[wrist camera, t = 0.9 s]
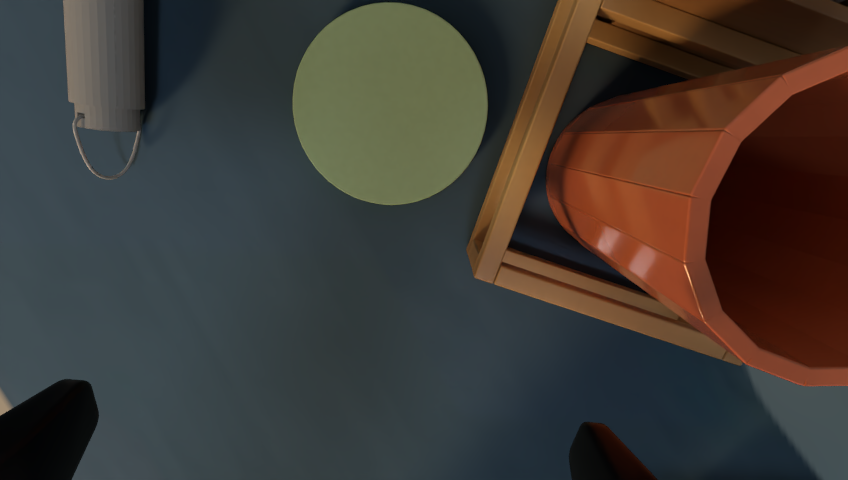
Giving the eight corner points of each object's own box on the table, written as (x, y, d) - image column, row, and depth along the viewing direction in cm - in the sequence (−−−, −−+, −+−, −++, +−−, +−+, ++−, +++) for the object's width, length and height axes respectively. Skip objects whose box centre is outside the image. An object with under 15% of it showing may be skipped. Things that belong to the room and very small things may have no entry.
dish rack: (682, 323, 23) (922, 501, 12) (465, 250, 23) (498, 364, 11) (831, 13, 20) (1338, -143, 9) (586, -79, 20) (793, -369, 8)
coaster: (486, 201, 22) (487, 203, 22) (303, 205, 22) (299, 206, 22) (487, 2, 20) (488, -2, 20) (288, 8, 21) (284, 4, 20)
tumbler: (693, 249, 22) (1003, 385, 10) (543, 252, 23) (672, 388, 10) (708, 94, 21) (1089, 36, 9) (547, 98, 21) (703, 46, 9)
